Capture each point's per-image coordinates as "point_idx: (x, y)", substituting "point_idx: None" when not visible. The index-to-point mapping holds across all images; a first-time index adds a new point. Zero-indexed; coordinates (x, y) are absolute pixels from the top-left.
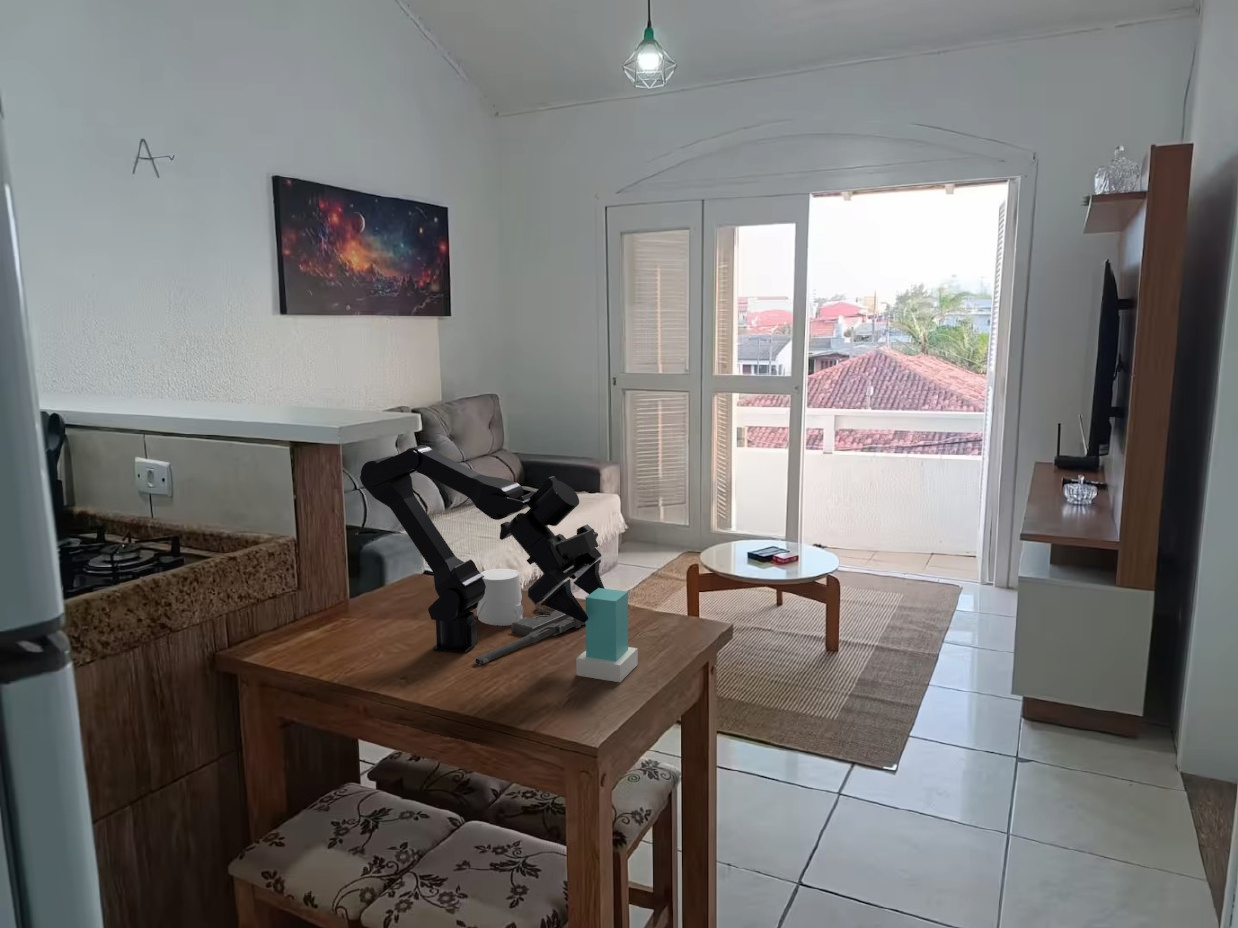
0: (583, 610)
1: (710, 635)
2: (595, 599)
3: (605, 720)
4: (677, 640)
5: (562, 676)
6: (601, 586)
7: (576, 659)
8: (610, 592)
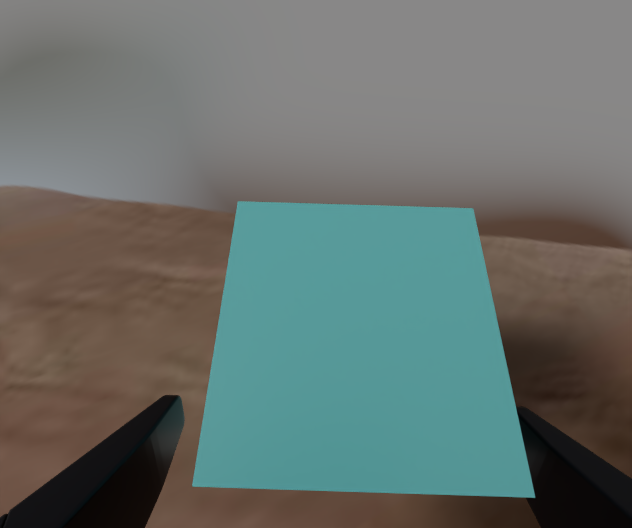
0: (563, 450)
1: (42, 199)
2: (505, 375)
3: (577, 272)
4: (81, 260)
5: (425, 494)
6: (74, 499)
7: None
8: (299, 312)
